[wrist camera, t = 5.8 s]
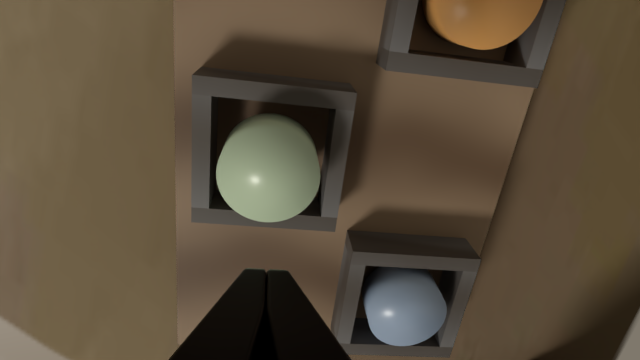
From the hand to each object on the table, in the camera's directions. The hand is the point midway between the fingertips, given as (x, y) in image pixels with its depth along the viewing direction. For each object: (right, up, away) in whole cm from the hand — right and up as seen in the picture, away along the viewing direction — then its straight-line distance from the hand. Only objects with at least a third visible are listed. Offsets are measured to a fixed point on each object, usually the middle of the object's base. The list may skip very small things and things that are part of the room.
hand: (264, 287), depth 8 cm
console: (+2, +4, +10) cm, 11 cm away
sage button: (-1, +3, +6) cm, 7 cm away
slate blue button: (+4, -3, +10) cm, 11 cm away
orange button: (+6, +8, +6) cm, 12 cm away
